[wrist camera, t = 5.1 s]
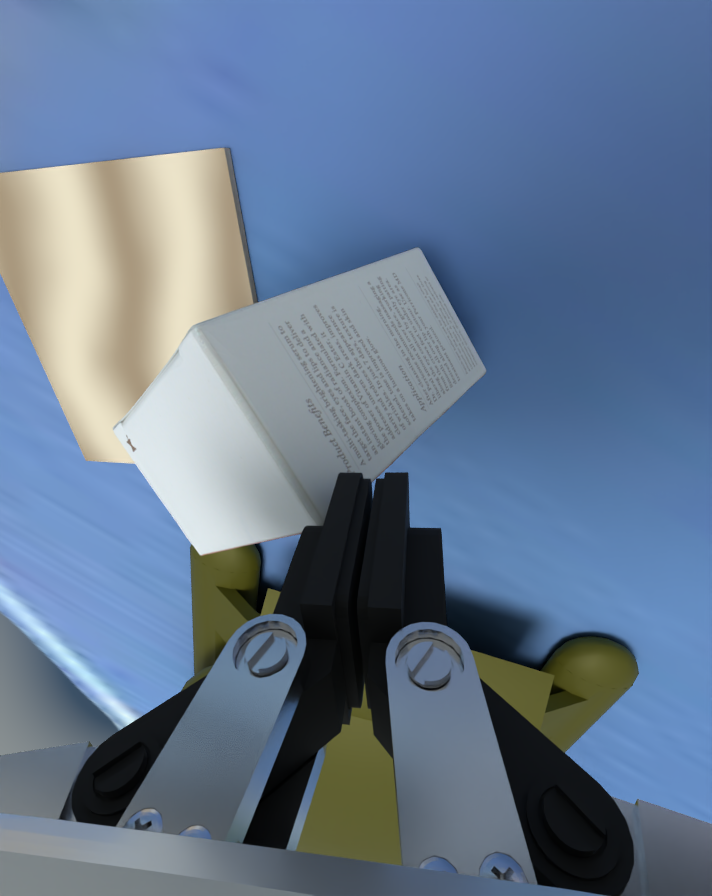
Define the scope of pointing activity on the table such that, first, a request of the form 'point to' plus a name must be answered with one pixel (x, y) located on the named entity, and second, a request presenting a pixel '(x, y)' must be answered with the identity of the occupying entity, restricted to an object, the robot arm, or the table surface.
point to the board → (120, 274)
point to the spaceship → (356, 748)
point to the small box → (298, 400)
